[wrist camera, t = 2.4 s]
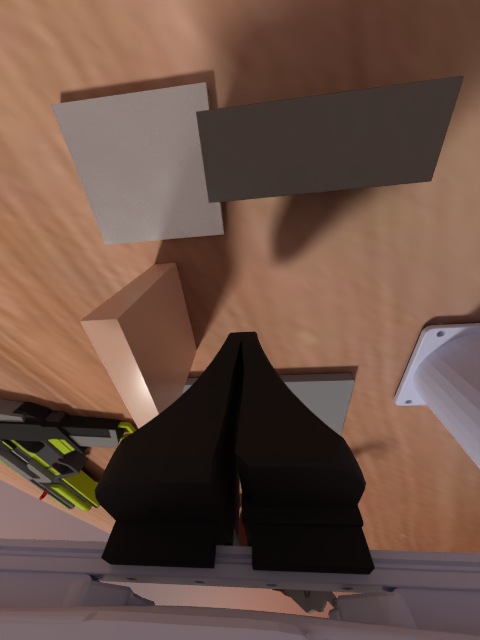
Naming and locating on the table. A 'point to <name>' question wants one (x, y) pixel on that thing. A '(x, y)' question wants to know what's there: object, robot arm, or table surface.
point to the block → (145, 341)
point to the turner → (244, 151)
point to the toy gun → (55, 449)
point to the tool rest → (319, 394)
